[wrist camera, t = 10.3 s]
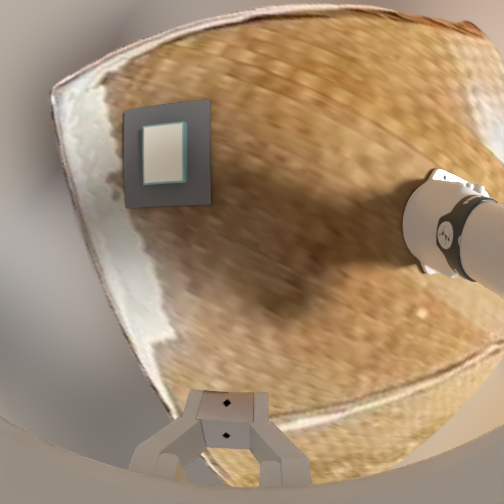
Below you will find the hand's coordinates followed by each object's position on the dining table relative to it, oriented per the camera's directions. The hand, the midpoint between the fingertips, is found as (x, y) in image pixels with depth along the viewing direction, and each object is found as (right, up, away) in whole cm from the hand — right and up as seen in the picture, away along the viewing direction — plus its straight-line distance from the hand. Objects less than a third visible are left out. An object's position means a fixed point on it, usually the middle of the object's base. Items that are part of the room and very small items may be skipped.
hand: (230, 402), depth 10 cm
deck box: (-9, +20, +28) cm, 36 cm away
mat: (-12, +21, +30) cm, 38 cm away
